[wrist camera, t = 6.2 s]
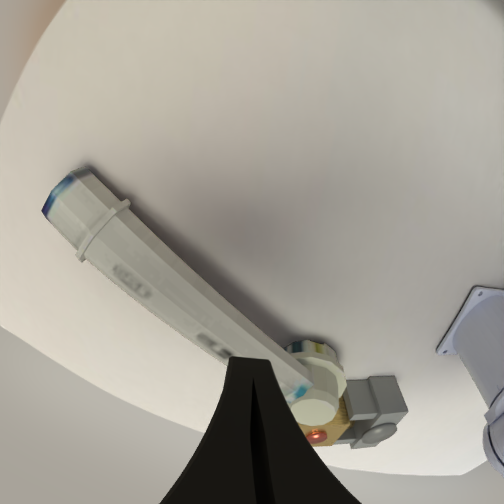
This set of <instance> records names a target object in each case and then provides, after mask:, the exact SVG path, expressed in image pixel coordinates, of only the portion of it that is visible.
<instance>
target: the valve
mask: <svg viewBox="0 0 504 504" xmlns="http://www.w3.org/2000/svg"><path fill="white" fill-rule="evenodd" d="M355 421H356V420H349V416H348V412H347V408H346V405H345V401H344V397H343V394H342V396H341V397H340V398H339V408H338V410H337V413H336V415H335V416H334V418H333V420H332V421H330V422H328V423H326V424H324V425H317V426H309V425H304V424H300V423H299V422H297V423H298V425H299V426H300V428H301V430H302V431H303V433H304V435H305V436H306V438H307V440H308V441H309V443H310V444H311V446H312V447H314V446H332V445H333V444H334V443H335V442H336V441H337V439H338V438H339V437H340V436H341V435H342V434H343V433H344V431H345V430H346V429H351V428H352V427H353V426H354V424H355Z"/></svg>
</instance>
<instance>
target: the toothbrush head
mask: <svg viewBox="0 0 504 504" xmlns="http://www.w3.org/2000/svg"><path fill="white" fill-rule="evenodd" d="M130 204H131V202H130V201H129V200H128V199H125V200H124V201H122V202H121V201H120V200H119V199H118V198H117V197H116V196H115V195H114V194H113V193H112V192H111V191H110V190H109V189H108V188H107V187H106V186H105V185H103V184H102V183H101V182H100V181H99V180H98V179H97V178H96V177H95V176H94V175H93V174H92V173H91V172H90V171H89V170H88V169H87V168H86V167H83V168H80V169H77V170H74V171H71V172H70V173H69V174H68V175H67V176H66V177H65V178H64V179H63V180H62V181H61V182H60V183H59V184H58V185H57V186H56V187H55V188H54V189H53V190H52V191H51V193H50V195H49V197H48V198H47V200H46V202H45V204H44V206H43V208H42V210H41V211H42V213H43V214H44V216H45V217H46V219H47V220H48V221H49V222H50V223H51V224H52V225H53V226H54V227H55V228H56V229H57V230H58V231H59V232H60V233H61V235H62V236H63V237H64V238H65V239H66V240H67V241H68V242H69V243H70V244H71V245H72V246H73V247H74V248H75V249H76V250H77V252H76V254H75V255H76V256H77V258H78V259H79V260H80V261H81V262H83V261H84V260H86V259H87V260H88V261H89V262H90V263H91V264H92V265H93V266H95V267H96V268H97V269H98V270H99V271H101V272H102V273H103V274H104V275H105V276H106V277H108V278H109V279H110V280H111V281H112V282H114V283H115V284H116V285H117V286H118V287H120V288H121V289H122V290H123V291H125V292H126V293H127V294H128V295H130V296H131V297H132V298H133V299H135V300H136V301H137V302H139V303H140V304H141V305H142V306H144V307H145V308H146V309H148V310H149V311H150V312H151V313H153V314H154V315H155V316H157V317H158V318H159V319H161V320H162V321H163V322H165V323H166V324H167V325H169V326H170V327H172V328H173V329H174V330H176V331H177V332H178V333H180V334H181V335H183V336H184V337H185V338H187V339H188V340H190V341H191V342H192V343H194V344H195V345H197V346H198V347H200V348H201V349H203V350H204V351H205V352H207V353H208V354H210V355H211V356H213V357H214V358H216V359H217V360H219V361H220V362H222V363H223V364H225V365H226V366H228V361H229V358H230V357H232V356H237V357H247V358H258V359H268V360H269V361H270V362H271V364H272V368H273V370H274V373H275V376H276V378H277V381H278V383H279V386H280V388H281V391H282V393H283V395H284V397H285V399H286V402H287V404H288V406H289V408H290V410H291V412H292V413H293V415H294V417H295V419H296V421H297V422H299V423H300V424H304V425H309V426H317V425H324V424H326V423H328V422H330V421H332V420H333V418H334V416H335V415H336V413H337V410H338V408H339V398H340V397H341V396H342V394H343V392H344V390H345V388H346V386H347V383H346V378H345V374H344V370H343V366H341V365H340V364H339V363H338V361H337V357H336V353H335V351H334V350H332V349H331V348H330V347H329V346H328V345H327V344H326V343H323V344H319V343H315V342H312V341H309V340H305V341H299V342H293V343H292V344H290V345H289V346H287V347H286V348H285V349H283V348H281V347H280V346H279V345H278V344H277V343H275V342H274V341H273V340H272V339H271V338H270V337H268V336H267V335H266V334H265V333H264V332H262V331H261V330H260V329H259V328H258V327H257V326H255V325H254V324H253V323H252V322H251V321H250V320H249V319H247V318H246V317H245V316H244V315H243V314H242V313H240V312H239V311H238V310H237V309H236V308H235V307H234V306H232V305H231V304H230V303H229V302H228V301H227V300H226V299H225V298H223V297H222V296H221V295H220V294H219V293H218V292H217V291H216V290H214V289H213V288H212V287H211V286H210V285H209V284H208V283H207V282H206V281H204V280H203V279H202V278H201V277H200V276H199V275H198V274H197V273H196V272H195V271H193V270H192V269H191V268H190V267H189V266H188V265H187V264H186V263H185V262H184V261H183V260H182V259H181V258H179V257H178V256H177V255H176V254H175V253H174V252H173V251H172V250H171V249H170V248H169V247H168V246H167V245H166V244H165V243H163V242H162V241H161V240H160V239H159V238H158V237H157V236H156V235H155V234H154V233H153V232H152V231H151V230H150V229H149V228H148V227H147V226H146V225H145V224H144V223H143V222H142V221H141V220H140V219H138V218H137V217H136V216H135V215H134V214H133V213H132V212H131V211H130V210H129V207H130Z"/></svg>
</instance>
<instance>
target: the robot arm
mask: <svg viewBox="0 0 504 504" xmlns="http://www.w3.org/2000/svg"><path fill="white" fill-rule="evenodd" d="M436 353H437V355H453V354H458V355H459V356H460V358H461V360H462V361H463V363H464V365H465V367H466V368H467V370H468V372H469V374H470V375H471V377H472V379H473V381H474V382H475V384H476V386H477V388H478V390H479V391H480V393H481V395H482V397H483V399H484V401H485V403H486V405H487V407H488V409H489V411H488V412H487V413H486V414H485V415H484V416H485V418H486V420H487V424H486V425H485V427H484V430H483V448H484V452H485V454H486V457H487V459H488V460H489V462H490V464H491V465H492V466H493V468H494V469H496V470H497V471H498V472H499V473H500V474H501V475H502V476H503V477H504V290H500V289H492V288H484V287H475V288H474V289H473V290H472V292H471V293H470V295H469V297H468V299H467V301H466V303H465V304H464V306H463V308H462V310H461V311H460V313H459V315H458V317H457V318H456V320H455V322H454V323H453V325H452V327H451V328H450V330H449V331H448V333H447V335H446V336H445V338H444V339H443V341H442V342H441V344H440V345H439V347H438V349H437V350H436ZM160 504H362V503H360V502H359V501H358V500H357V499H356V498H355V497H354V496H353V495H352V494H351V493H350V492H349V491H348V490H347V489H346V488H345V487H344V486H343V485H342V484H341V483H340V481H339V480H338V479H337V478H336V477H335V476H334V475H333V474H332V472H331V471H330V470H329V469H328V468H327V466H326V465H325V464H324V462H323V461H322V460H321V459H320V457H319V456H318V454H317V453H316V452H315V450H314V449H313V447H312V446H311V444H310V443H309V441H308V440H307V438H306V436H305V435H304V433H303V431H302V430H301V428H300V426H299V425H298V423H297V421H296V419H295V417H294V415H293V413H292V412H291V410H290V408H289V406H288V404H287V402H286V399H285V397H284V395H283V393H282V391H281V388H280V386H279V383H278V381H277V378H276V376H275V373H274V370H273V368H272V364H271V362H270V361H269V360H268V359H258V358H247V357H237V356H232V357H230V358H229V361H228V366H227V371H226V377H225V382H224V387H223V391H222V394H221V397H220V400H219V402H218V405H217V408H216V410H215V412H214V415H213V417H212V419H211V421H210V424H209V426H208V428H207V430H206V432H205V434H204V436H203V438H202V440H201V442H200V444H199V446H198V447H197V449H196V451H195V453H194V454H193V456H192V458H191V459H190V461H189V462H188V464H187V466H186V467H185V469H184V470H183V472H182V474H181V475H180V477H179V478H178V479H177V481H176V482H175V484H174V485H173V486H172V488H171V489H170V490H169V492H168V493H167V494H166V496H165V497H164V498H163V500H162V501H161V502H160Z"/></svg>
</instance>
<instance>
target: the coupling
mask: <svg viewBox="0 0 504 504" xmlns="http://www.w3.org/2000/svg"><path fill="white" fill-rule="evenodd" d="M346 383H347V386H346V388H345V390H344V392H343V397H344V401H345V405H346V408H347V412H348V416H349V420H356V421H355V424H354V426H353V427H352V428H351V429H346V430H345V431H344V433H343V434H342V435H341V436H340V437H339V438H338V439H337V441H336V442H335V443H334V444H348V443H350V446H351V449H357V448H366V447H374V446H377V445H378V444H379V443H380V442H381V441H383V440H385V439H387V438H389V437H391V436H392V435H393V434H394V433H395V432H396V431H397V427H396V425H397V424H398V423H399V422H400V420H401V419H402V418H403V417H404V416H405V415H406V414H407V413H408V412H409V411H408V408H407V406H406V403H405V401H404V398H403V396H402V393H401V391H400V388H399V386H398V383H397V381H396V378H395V376H386V377H369V378H368V380H346ZM334 444H333V445H334Z"/></svg>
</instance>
